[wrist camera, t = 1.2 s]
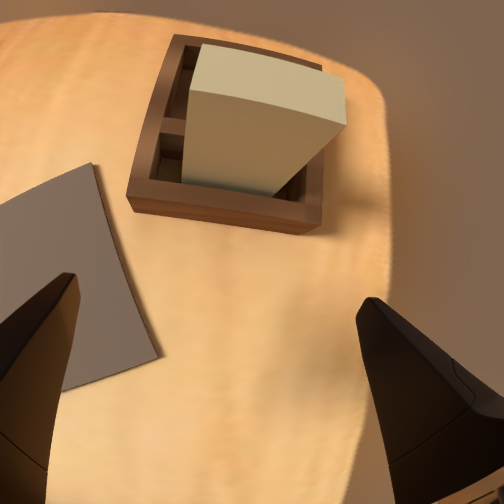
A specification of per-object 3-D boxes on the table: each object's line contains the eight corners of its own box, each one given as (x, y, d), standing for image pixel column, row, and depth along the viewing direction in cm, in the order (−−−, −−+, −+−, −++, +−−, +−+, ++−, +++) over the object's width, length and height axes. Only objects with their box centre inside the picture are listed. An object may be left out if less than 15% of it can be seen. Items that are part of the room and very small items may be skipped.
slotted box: (298, 235, 24) (320, 224, 20) (134, 212, 21) (125, 195, 17) (304, 90, 26) (321, 65, 22) (172, 64, 23) (173, 34, 19)
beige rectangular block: (260, 208, 23) (346, 125, 11) (180, 196, 22) (189, 89, 10) (262, 178, 24) (343, 78, 11) (185, 165, 22) (202, 43, 10)
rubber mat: (158, 356, 20) (157, 357, 20) (4, 406, 16) (1, 408, 16) (92, 164, 21) (91, 162, 20) (-47, 235, 17) (-50, 234, 16)
